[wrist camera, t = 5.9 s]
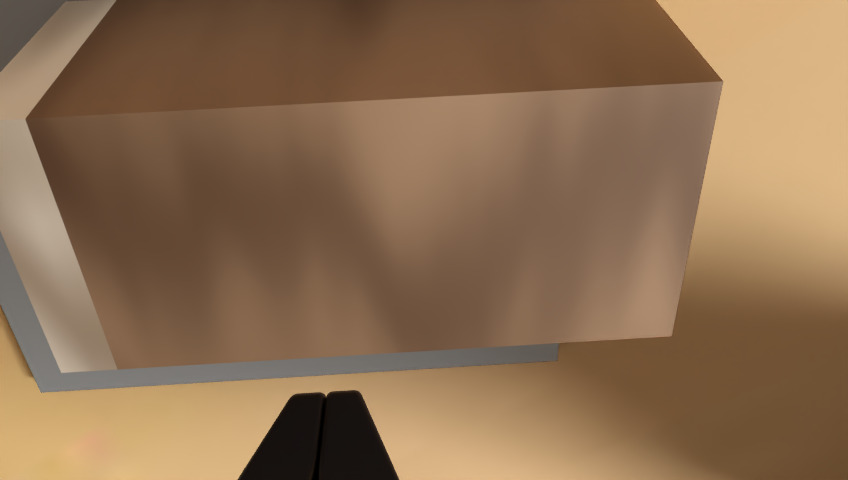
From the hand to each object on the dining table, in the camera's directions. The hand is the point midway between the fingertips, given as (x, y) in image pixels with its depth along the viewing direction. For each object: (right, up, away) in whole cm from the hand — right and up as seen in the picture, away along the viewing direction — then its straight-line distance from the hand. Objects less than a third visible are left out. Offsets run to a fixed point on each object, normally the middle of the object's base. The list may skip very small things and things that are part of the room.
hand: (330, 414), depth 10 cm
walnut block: (+5, +4, +5) cm, 8 cm away
